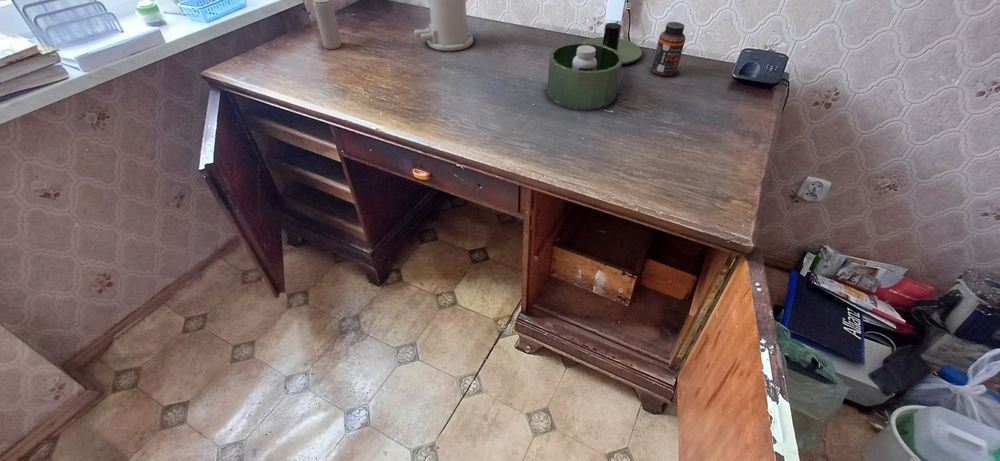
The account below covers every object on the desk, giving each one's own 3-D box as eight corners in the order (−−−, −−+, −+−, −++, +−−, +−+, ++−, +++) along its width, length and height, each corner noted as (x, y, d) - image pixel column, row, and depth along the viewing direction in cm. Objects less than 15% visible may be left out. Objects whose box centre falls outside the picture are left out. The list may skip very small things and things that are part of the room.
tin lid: (594, 70, 115) (598, 41, 110) (567, 45, 127) (569, 18, 122) (653, 62, 119) (659, 33, 114) (621, 38, 130) (626, 11, 125)
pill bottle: (565, 92, 106) (569, 50, 99) (574, 83, 109) (578, 42, 103) (588, 98, 104) (594, 55, 97) (596, 88, 108) (602, 46, 101)
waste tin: (563, 114, 100) (567, 76, 94) (537, 82, 111) (539, 47, 105) (628, 103, 103) (635, 66, 97) (597, 74, 114) (602, 39, 108)
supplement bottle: (662, 79, 112) (674, 31, 104) (646, 69, 116) (656, 22, 108) (681, 74, 114) (694, 26, 106) (664, 64, 118) (676, 18, 110)
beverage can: (320, 48, 126) (307, 0, 117) (331, 41, 129) (319, -5, 121) (335, 51, 124) (323, 3, 116) (346, 44, 128) (335, -3, 119)
